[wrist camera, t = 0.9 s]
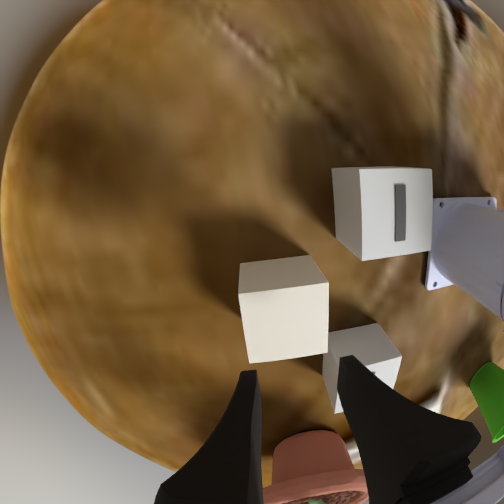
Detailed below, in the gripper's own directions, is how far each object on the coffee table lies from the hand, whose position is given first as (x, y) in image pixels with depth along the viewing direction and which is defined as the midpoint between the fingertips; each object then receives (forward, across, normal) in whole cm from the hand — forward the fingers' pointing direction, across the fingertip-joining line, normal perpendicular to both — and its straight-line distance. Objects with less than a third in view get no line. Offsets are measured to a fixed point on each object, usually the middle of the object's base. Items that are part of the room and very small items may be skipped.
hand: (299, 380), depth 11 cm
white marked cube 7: (+10, -6, +7) cm, 13 cm away
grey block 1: (+10, -7, -6) cm, 13 cm away
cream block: (+10, 0, 0) cm, 10 cm away
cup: (+10, -30, +20) cm, 37 cm away
